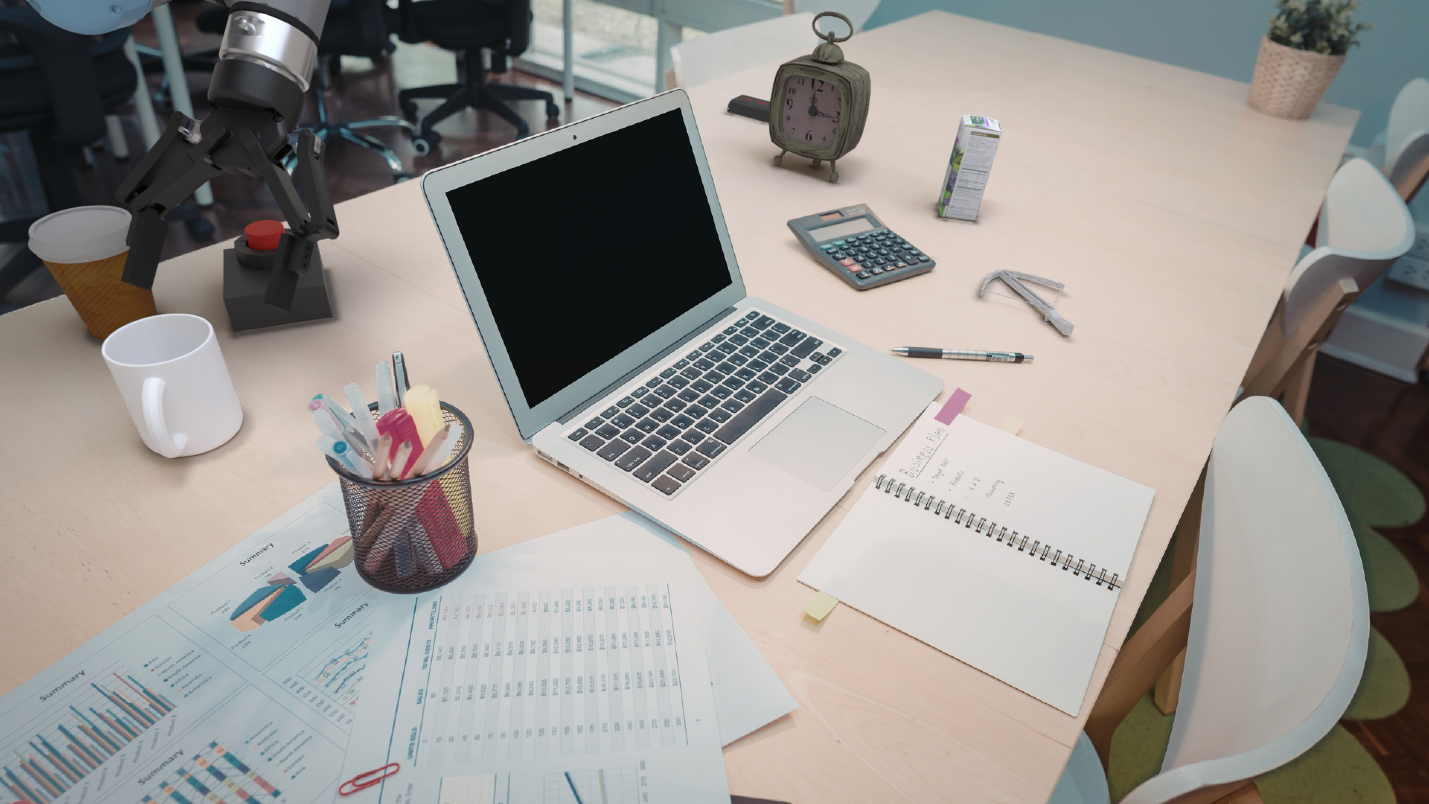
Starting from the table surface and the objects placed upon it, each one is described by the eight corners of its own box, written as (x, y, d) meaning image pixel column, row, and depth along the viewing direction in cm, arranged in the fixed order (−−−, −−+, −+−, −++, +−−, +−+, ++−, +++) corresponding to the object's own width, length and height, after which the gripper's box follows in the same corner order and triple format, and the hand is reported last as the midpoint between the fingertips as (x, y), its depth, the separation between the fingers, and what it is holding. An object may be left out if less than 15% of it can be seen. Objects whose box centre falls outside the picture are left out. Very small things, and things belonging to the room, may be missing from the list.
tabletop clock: (762, 165, 139) (780, 7, 124) (786, 151, 146) (806, -1, 130) (838, 188, 134) (867, 25, 119) (860, 172, 140) (890, 16, 125)
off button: (248, 238, 94) (243, 222, 93) (286, 234, 96) (282, 218, 94) (249, 254, 91) (244, 237, 90) (288, 249, 93) (284, 232, 92)
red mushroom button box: (233, 279, 97) (218, 233, 94) (323, 267, 101) (312, 222, 98) (234, 332, 89) (217, 284, 85) (332, 317, 93) (321, 270, 89)
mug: (230, 481, 71) (193, 387, 65) (122, 494, 69) (72, 398, 63) (252, 399, 80) (221, 309, 74) (156, 408, 78) (116, 317, 72)
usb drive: (739, 105, 164) (741, 91, 162) (792, 119, 160) (794, 105, 158) (727, 111, 160) (728, 97, 159) (780, 126, 156) (782, 111, 154)
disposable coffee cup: (148, 293, 94) (109, 195, 86) (193, 323, 89) (155, 223, 82) (56, 326, 87) (4, 223, 80) (98, 360, 83) (48, 255, 76)
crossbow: (958, 282, 112) (962, 269, 111) (1037, 277, 115) (1042, 264, 114) (1023, 339, 99) (1027, 324, 98) (1110, 331, 103) (1115, 317, 101)
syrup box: (936, 202, 132) (959, 112, 123) (973, 207, 132) (999, 117, 123) (938, 217, 127) (963, 125, 119) (976, 222, 127) (1004, 130, 118)
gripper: (107, 38, 73) (42, 264, 70) (370, 72, 70) (313, 306, 68) (168, 82, 80) (111, 288, 77) (408, 114, 78) (358, 327, 75)
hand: (205, 297), depth 73 cm, fingers open, 13 cm apart
